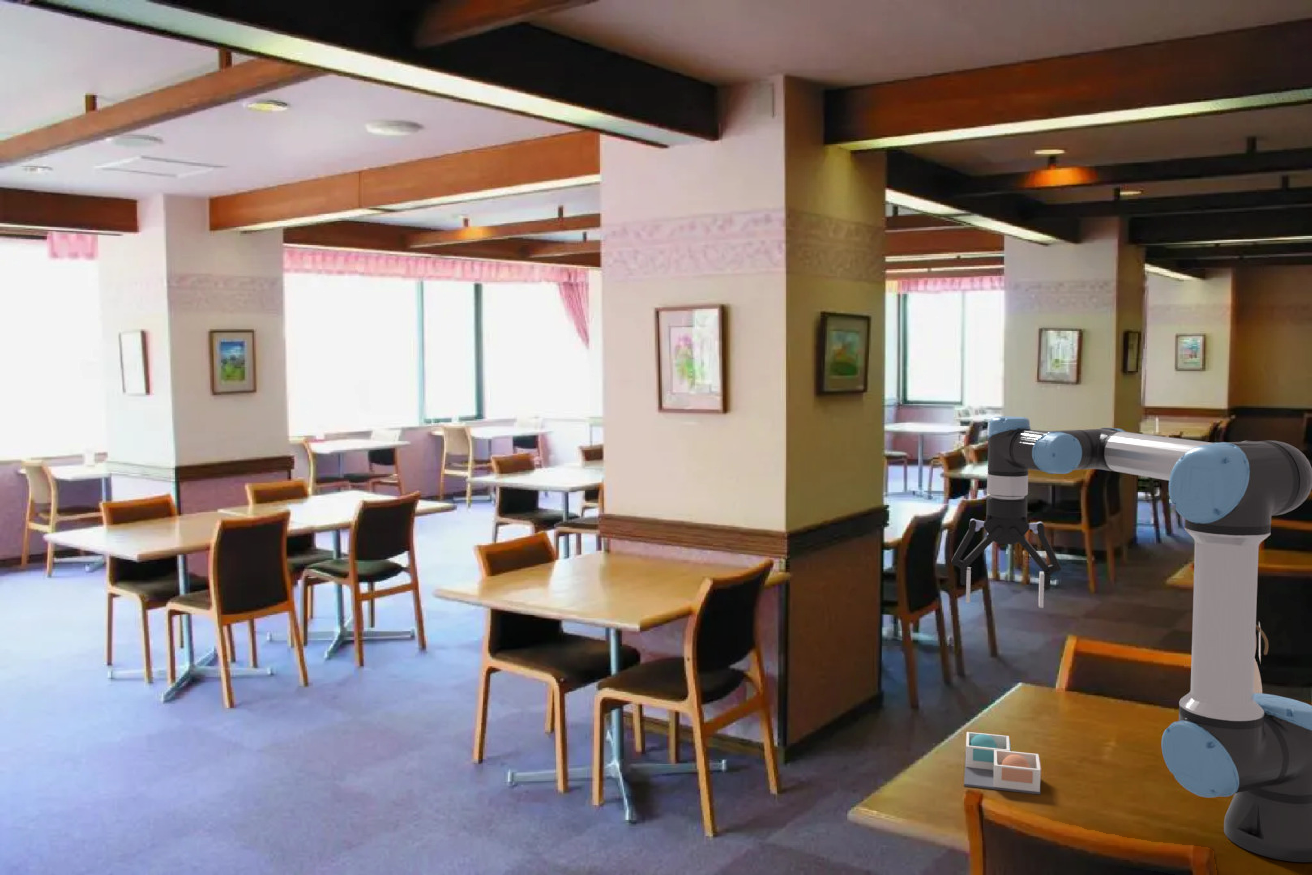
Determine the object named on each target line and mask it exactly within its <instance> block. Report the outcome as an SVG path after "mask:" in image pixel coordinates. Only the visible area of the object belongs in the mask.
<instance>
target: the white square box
mask: <svg viewBox="0 0 1312 875" xmlns="http://www.w3.org/2000/svg"><path fill="white" fill-rule="evenodd" d="M1013 754H1015V755H1020V756H1022V757H1023V758H1025V759H1026V760H1027V762H1028V763H1029V766H1030V768H1025V767H1016V766H1006V765H1001V764H1002V762H1003V760H1004V759H1005V758H1006V757H1007V756H1009V755H1013ZM993 775H994V787H999V788H1008V789H1017V790H1026V791H1035V792H1040V793H1041V782H1042V765H1041V758H1040V756H1039V753H1031V752H1021V751H1012V750H1011V751H1004V750H994V766H993Z"/></svg>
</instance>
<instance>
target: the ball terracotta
mask: <svg viewBox="0 0 1312 875" xmlns="http://www.w3.org/2000/svg"><path fill="white" fill-rule="evenodd" d="M1001 765H1006V766H1016V767H1025V768H1030V766H1029V763H1028V762H1027V760H1026V759H1025V758H1023V757H1022V756H1020V755H1015V754H1013V755H1009V756H1007V757H1006V758H1005V759H1004V760H1003V762H1002V764H1001Z"/></svg>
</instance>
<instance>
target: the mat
mask: <svg viewBox="0 0 1312 875" xmlns="http://www.w3.org/2000/svg"><path fill="white" fill-rule="evenodd" d="M964 754H965V759H964V760H965V761H964V779H963V780H964V782H963V786H964V787H970V788H971V787H972V788H979V789H989V790H998V791H1007V792H1016V793H1022V794H1023V793H1024V794H1031V795H1032V794H1033V795H1041V791H1040V792H1035V791H1026V790H1017V789H1008V788H999V787H994V775H993V770H989V769H980V768H971V767H966V753H964Z"/></svg>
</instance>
